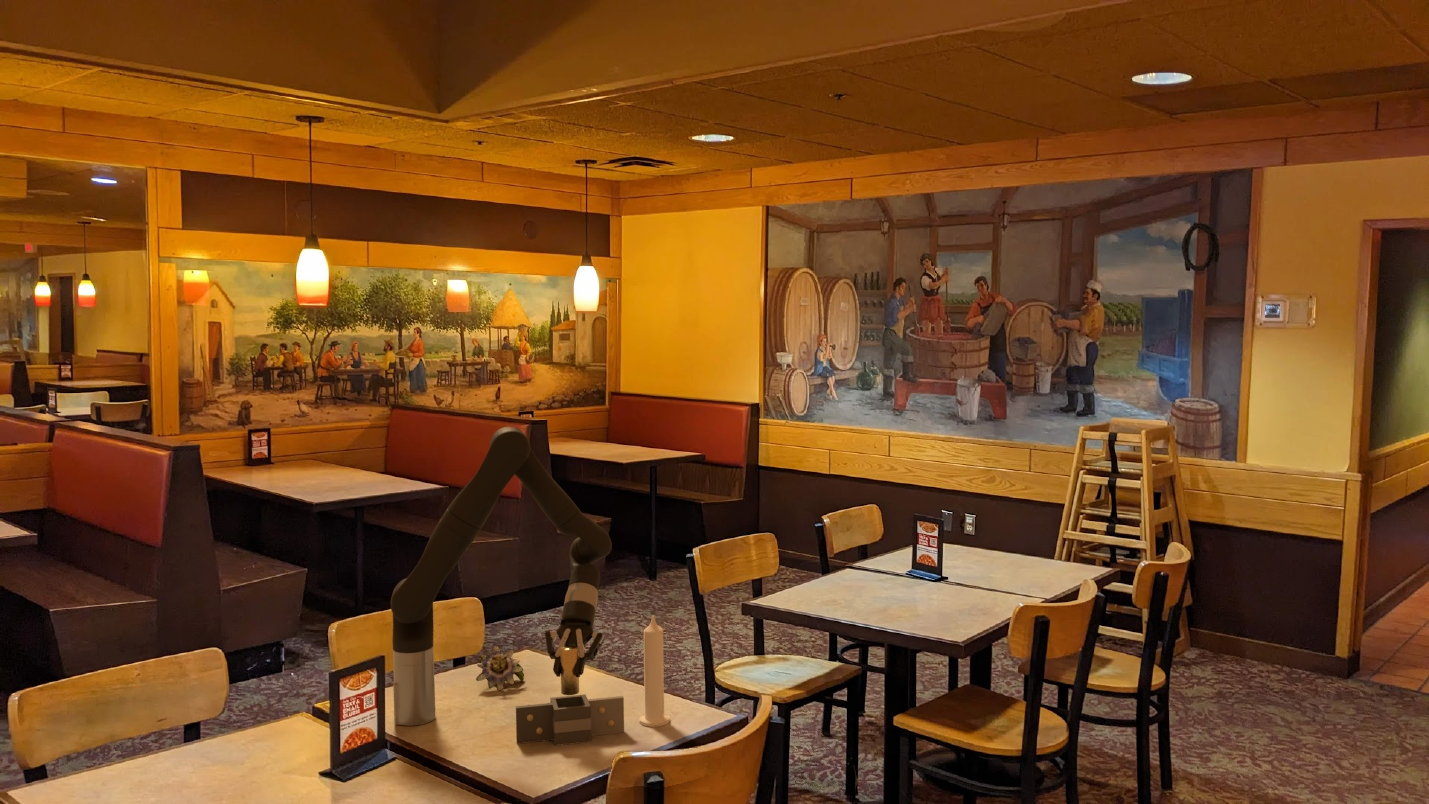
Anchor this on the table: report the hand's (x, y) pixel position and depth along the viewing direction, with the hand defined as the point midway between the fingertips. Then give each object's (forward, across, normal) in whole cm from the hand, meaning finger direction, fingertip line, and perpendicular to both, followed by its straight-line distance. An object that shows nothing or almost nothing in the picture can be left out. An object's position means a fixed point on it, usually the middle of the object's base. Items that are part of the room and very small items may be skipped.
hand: (567, 675), depth 237 cm
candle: (+1, +17, +20) cm, 26 cm away
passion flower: (-13, -28, +35) cm, 46 cm away
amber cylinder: (+2, 0, +5) cm, 5 cm away
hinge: (+9, 0, +12) cm, 15 cm away
